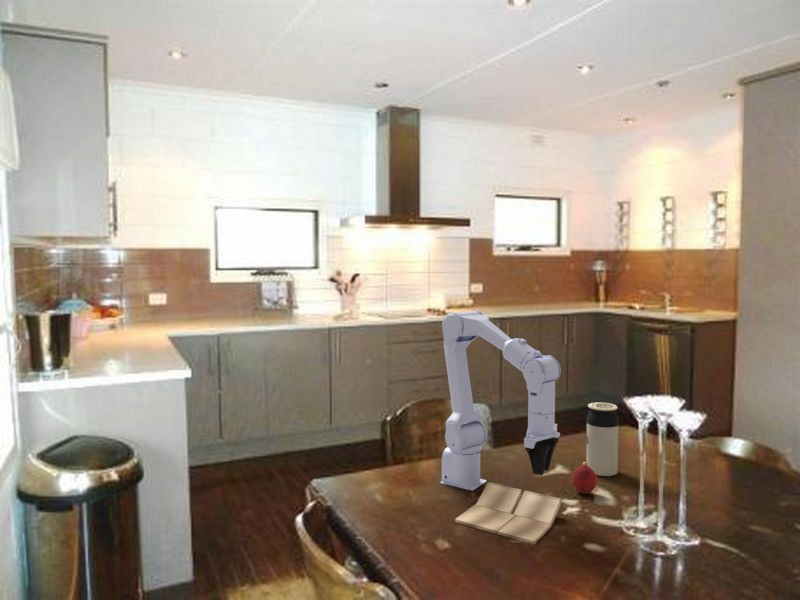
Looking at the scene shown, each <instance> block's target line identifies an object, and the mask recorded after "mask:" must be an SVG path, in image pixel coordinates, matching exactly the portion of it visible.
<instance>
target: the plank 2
mask: <svg viewBox="0 0 800 600" xmlns="http://www.w3.org/2000/svg"><path fill="white" fill-rule="evenodd" d="M561 505H562V499H561V498H559V497H555V496H550V495H546V494H542V493H538V492H533V491H529V490H524V491H523V492H522V495H521V497H520V499H519V501H518V503H517V506H516V508H515V510H514V512H513V515H517V516H521V517H525V518H529V519H533V520H537V521H541V522H545V523H548V524H551V526H553V524H554V521H555V520H556V517H557V514H558V512H559V509H560V508H561Z"/></svg>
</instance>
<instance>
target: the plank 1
mask: <svg viewBox="0 0 800 600" xmlns="http://www.w3.org/2000/svg"><path fill="white" fill-rule="evenodd" d="M522 495H523V491H522V489H520V488H516V487H512V486H507V485H502V484H499V483H494V482H489V481H488V482H486V485H485V487H484V488H483V491H482V493H481V494H480V496H479V498H478V500H477V502H476V503H475V505H479V506H482V507H486V508H490V509H494V510H498V511H502V512H506V513H510V514H514V512H515V510H516V508H517V505H518V503H519V501H520V499H521V497H522Z"/></svg>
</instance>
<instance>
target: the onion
mask: <svg viewBox="0 0 800 600" xmlns="http://www.w3.org/2000/svg"><path fill="white" fill-rule="evenodd" d="M571 480H572V484H573V488H575V489H576V490H577V491H578V492H579V493H581V494H583V495H587V494H590V493H591V492H592V491H593V490H595V488H596V487H597V486H598V475H596V474H595V472H594V471H593V470H592V469H591V468H590V467H588V465H587V463H586V461H583V462H582V464H581V465H580V466H578V467H576V469H574V471H573V473H572V478H571Z"/></svg>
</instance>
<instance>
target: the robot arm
mask: <svg viewBox="0 0 800 600" xmlns="http://www.w3.org/2000/svg"><path fill="white" fill-rule="evenodd" d="M441 327H442V335H443V350H444V356H445V357H444V358H445V359H444V360H445V365H446V372H447V380H448V388H449V394H450V402H451V409H452V413H451V415H449V417H448V418H447V420H446V421H445V433H444V440H445V444H446V446H447V447H445V449H444V450H443V451H442V456H441V481H440V483H441V484H444V485H448V486H452V487H456V488H460V489H463V490H468V491H469V490H470V491H474V490H476V489H477V488H479V487H481V485H483V484H485V483H487V479H483V478H481V450H483V445H484V444H486V441H487V439H488V432H487V429H486V426H485V425H484V422H483V421H484V420H483V416H482V415H480V414H479V413H478V412H477V411H475V407H474V399H473V394H472V392H473V391H472V387H471V386H472V385H471V379H470V371H469V363H468V357H467V351H466V349H467V348H468V347H469V346H470V344H471V343H473V341H474V340H476V339H477V338H479V337H481V338H482V339H484V340H485V341H487V342H488V343H489V344H491V345H493V346H494V347H496V348H497V349H499V350H500V351H502V357H503V358H504V359H505V361H508V362H509V363H510V364H511V365H512V366H514V367H515V368H516V369H518V370H519V371H520V372H521V373H522V375H523V376H522V377H523V379H524V380H525V383H526V389H527V391H528V398H527V399H528V403H527V408H528V409H527V411H528V413H527V429H526V435H525V437H524V438H523V447H524V449H525V451H526V452H527V455H528V458H529V461H530V465H531V469H532V473H533V474H534V475H539V476H543V475H544V474H545V471H549V470H550V466H551V462H552V458H553V454H554V451H555V448H556V447H557V444H558V443H559V438H560V436H561V432H558V423H555V422H556V421H555V419H556V415H555V414H556V413H555V412H556V381H557V380H558V379H559V378H560V376H561V371H562V370H561V369H562V368H561V365H560V363H559V361H558V360H557V359H556V358H555V356H553V355H550V354H548V355H543V354H542V352H541V351H540V350H536V349H535V348H534V347H531V345H529V344H528V343H527V340H526V339H524V337H523V338H522V337H521V338H518V337H517V338H515V337H514V338H511V337H509V336H508V335H507V334H506V333H505V332H504V331H502V329H500V328H499V327H498V326H496V325H495V324H494V323H493V322H492V321H490V319H489V316H488V315H486V314H484V313H483V312H482V311H480V310H473V311H462V312H461V311H460V312H449V313H448V314H446V316H445V317H444V319H443V320H442V322H441Z"/></svg>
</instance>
